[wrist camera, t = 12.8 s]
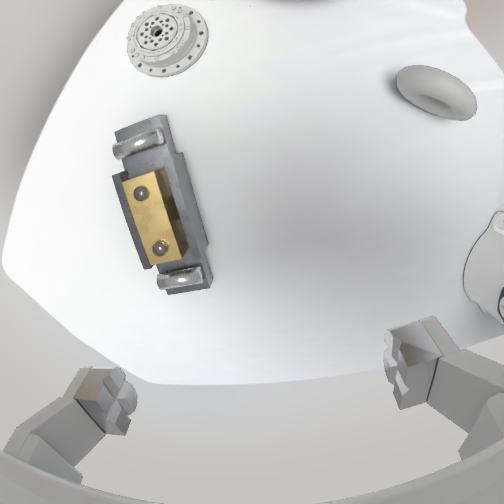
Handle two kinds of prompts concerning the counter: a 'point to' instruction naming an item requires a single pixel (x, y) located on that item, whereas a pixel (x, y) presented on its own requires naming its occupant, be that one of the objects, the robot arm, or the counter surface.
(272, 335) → the counter surface
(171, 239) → the gold block with knob
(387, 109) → the counter surface
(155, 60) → the mechanical component
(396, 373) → the robot arm
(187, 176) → the linear slide rail
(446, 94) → the donut
